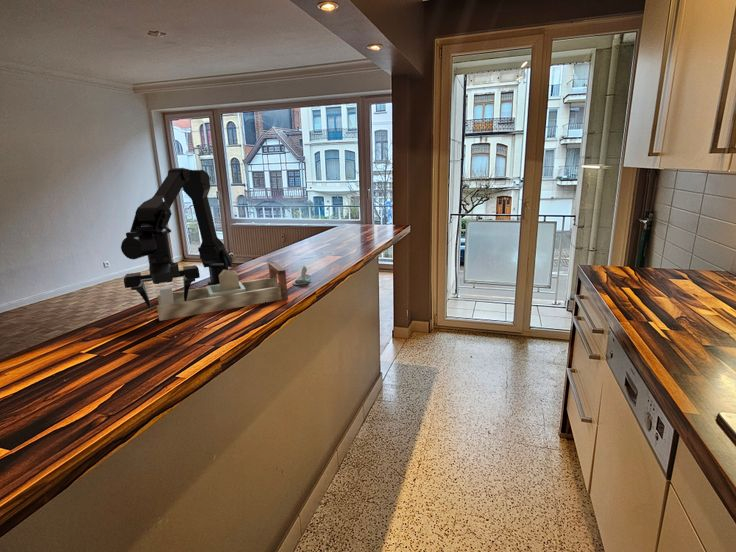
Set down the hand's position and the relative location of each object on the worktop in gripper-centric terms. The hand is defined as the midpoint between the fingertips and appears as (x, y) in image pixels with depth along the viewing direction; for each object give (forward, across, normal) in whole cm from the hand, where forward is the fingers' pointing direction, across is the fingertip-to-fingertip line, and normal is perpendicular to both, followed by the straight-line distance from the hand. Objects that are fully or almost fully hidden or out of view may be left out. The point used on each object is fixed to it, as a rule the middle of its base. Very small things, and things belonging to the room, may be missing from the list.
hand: (168, 305), depth 116 cm
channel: (+2, +15, 0) cm, 15 cm away
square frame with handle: (+2, +10, 0) cm, 10 cm away
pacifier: (+2, +42, +8) cm, 43 cm away
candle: (+2, +17, 0) cm, 17 cm away
